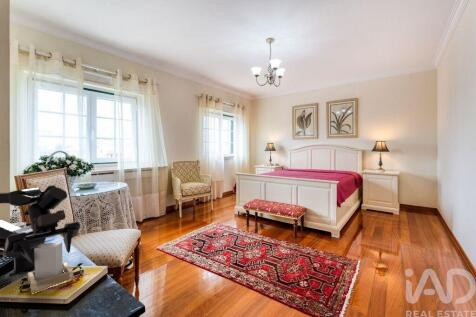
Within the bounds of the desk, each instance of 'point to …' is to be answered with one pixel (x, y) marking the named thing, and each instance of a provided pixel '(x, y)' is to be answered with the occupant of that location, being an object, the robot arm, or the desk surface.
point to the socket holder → (49, 279)
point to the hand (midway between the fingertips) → (52, 257)
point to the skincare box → (48, 260)
